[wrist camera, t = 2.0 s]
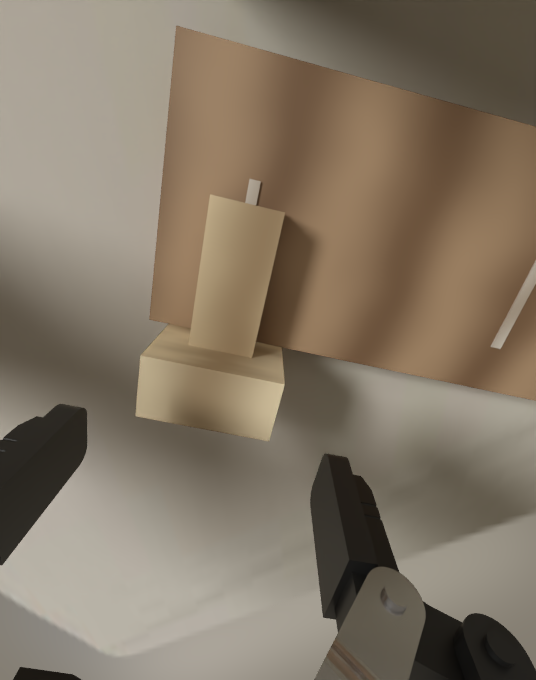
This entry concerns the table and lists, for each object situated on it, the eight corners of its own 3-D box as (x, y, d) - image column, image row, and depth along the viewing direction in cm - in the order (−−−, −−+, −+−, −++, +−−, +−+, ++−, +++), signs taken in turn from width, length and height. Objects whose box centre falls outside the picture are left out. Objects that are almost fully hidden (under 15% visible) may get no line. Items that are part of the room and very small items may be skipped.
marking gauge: (175, 354, 20) (135, 416, 14) (196, 191, 17) (155, 180, 11) (269, 373, 21) (268, 441, 15) (308, 218, 17) (329, 223, 11)
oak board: (164, 306, 19) (148, 320, 17) (191, 55, 15) (175, 24, 12) (508, 379, 21) (540, 402, 18) (626, 174, 16) (688, 168, 14)
